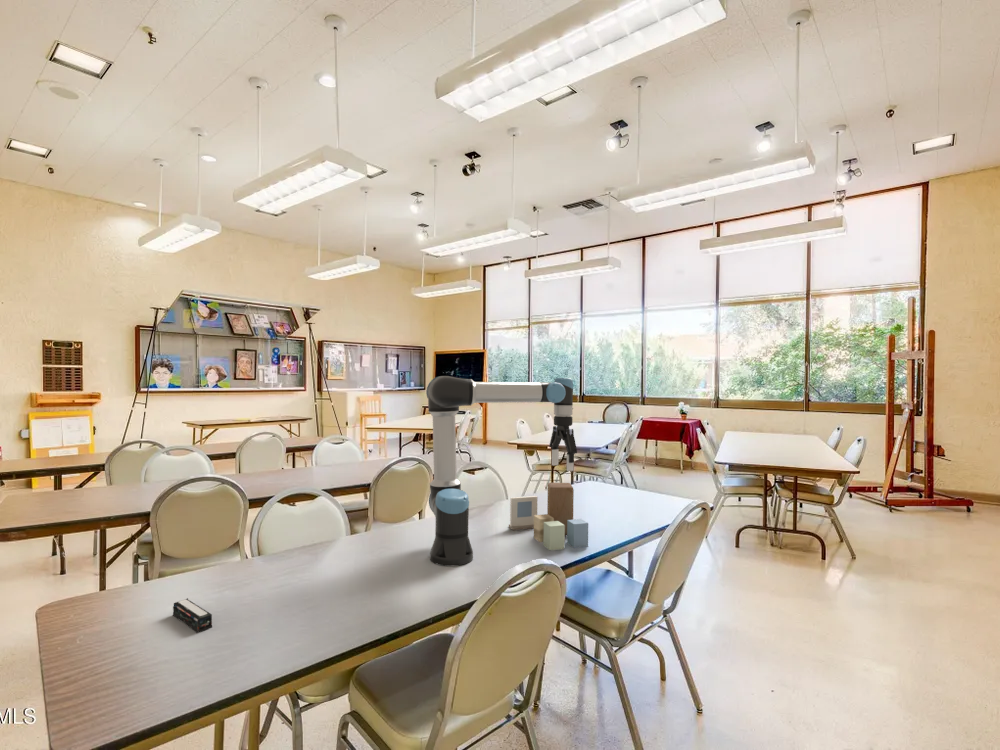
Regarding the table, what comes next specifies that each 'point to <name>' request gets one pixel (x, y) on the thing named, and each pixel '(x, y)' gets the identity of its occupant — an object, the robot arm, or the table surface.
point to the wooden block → (560, 502)
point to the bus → (192, 615)
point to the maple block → (540, 526)
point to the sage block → (554, 535)
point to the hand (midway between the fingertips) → (562, 468)
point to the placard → (522, 512)
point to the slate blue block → (577, 533)
